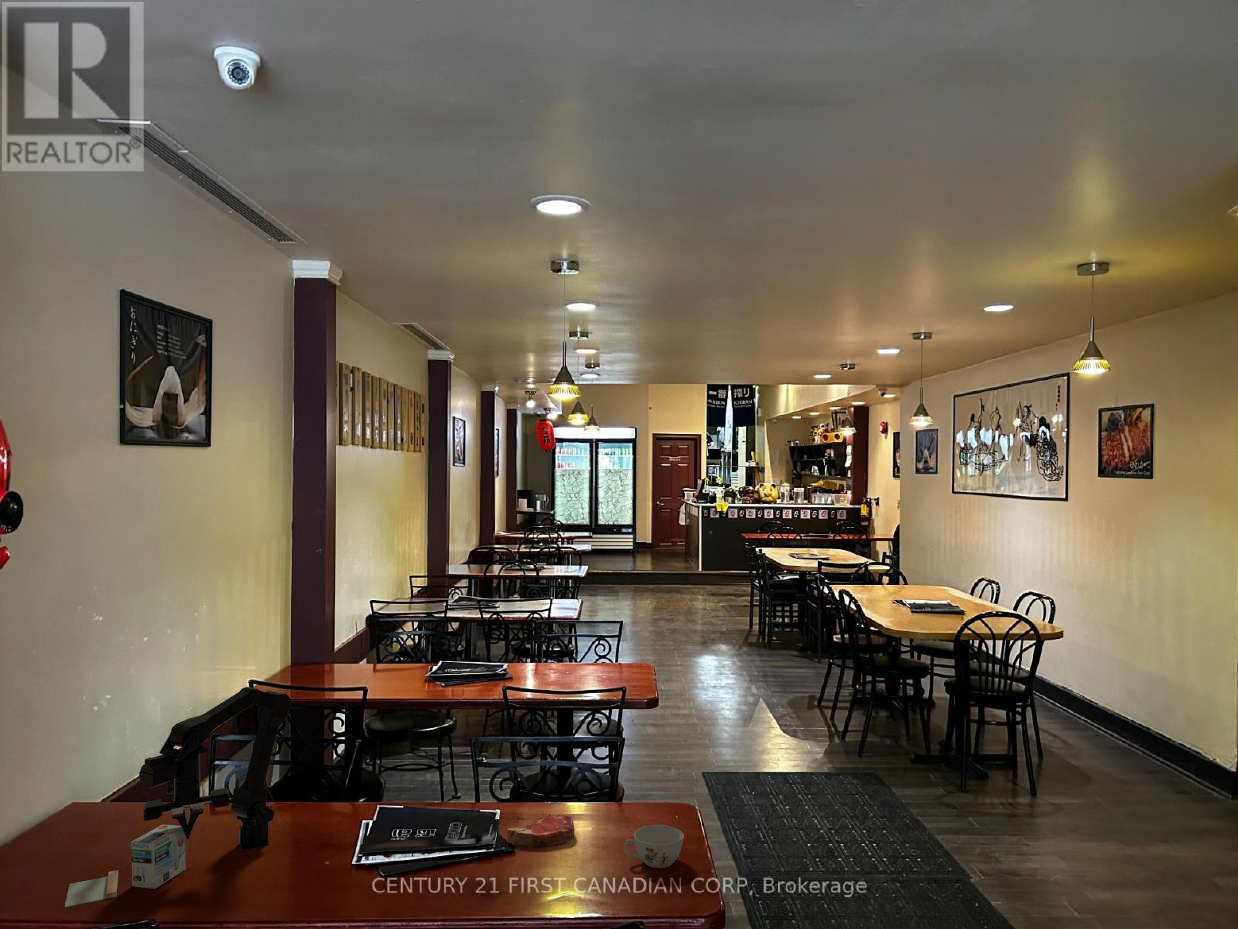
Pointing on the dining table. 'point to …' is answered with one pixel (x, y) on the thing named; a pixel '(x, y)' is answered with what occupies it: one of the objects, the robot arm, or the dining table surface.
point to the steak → (543, 832)
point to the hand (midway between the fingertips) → (187, 838)
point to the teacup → (656, 845)
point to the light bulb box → (158, 856)
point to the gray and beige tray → (92, 890)
